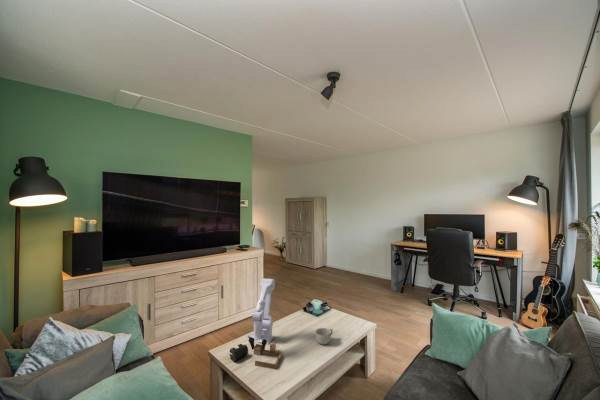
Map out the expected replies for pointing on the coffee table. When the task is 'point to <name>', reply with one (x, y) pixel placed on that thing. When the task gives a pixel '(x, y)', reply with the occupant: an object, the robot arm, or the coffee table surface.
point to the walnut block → (258, 349)
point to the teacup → (323, 335)
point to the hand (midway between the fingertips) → (258, 349)
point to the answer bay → (270, 365)
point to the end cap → (238, 352)
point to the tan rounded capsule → (273, 347)
